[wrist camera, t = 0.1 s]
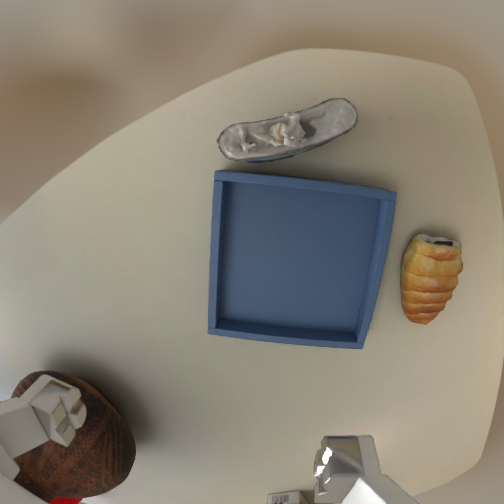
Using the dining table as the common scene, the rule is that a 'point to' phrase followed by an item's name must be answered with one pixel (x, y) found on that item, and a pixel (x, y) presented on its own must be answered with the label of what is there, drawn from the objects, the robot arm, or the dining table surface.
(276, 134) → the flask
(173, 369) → the dining table surface
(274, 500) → the coffee box
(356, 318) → the blue tray
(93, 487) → the jug
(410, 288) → the pastry
